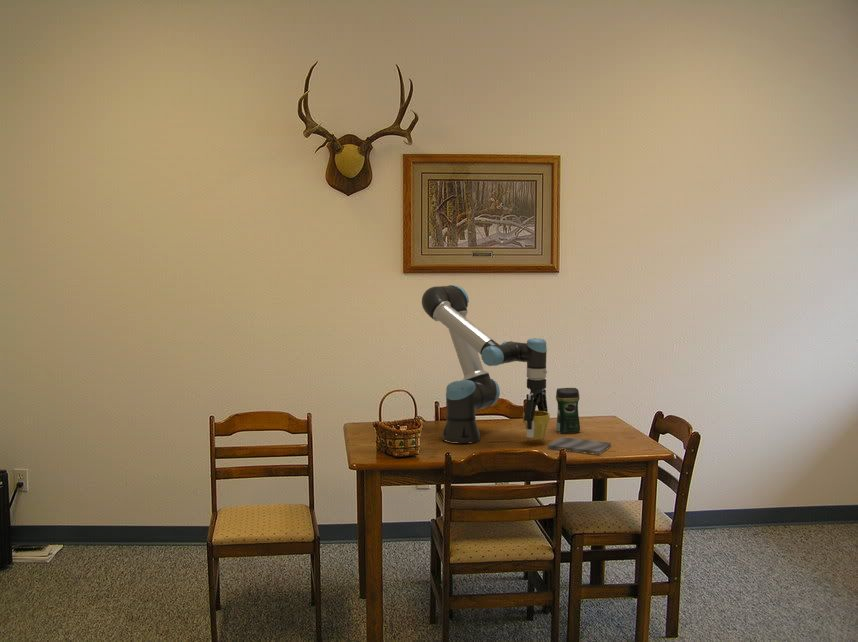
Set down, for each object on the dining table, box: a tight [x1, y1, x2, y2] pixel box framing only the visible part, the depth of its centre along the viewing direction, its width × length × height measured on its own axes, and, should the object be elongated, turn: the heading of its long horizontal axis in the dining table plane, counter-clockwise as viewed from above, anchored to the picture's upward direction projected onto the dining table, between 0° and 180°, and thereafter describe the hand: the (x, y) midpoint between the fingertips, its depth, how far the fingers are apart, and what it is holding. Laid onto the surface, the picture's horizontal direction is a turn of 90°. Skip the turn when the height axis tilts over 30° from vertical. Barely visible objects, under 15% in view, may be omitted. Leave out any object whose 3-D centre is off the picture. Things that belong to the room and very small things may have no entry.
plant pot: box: [522, 409, 550, 440], centre depth 282 cm, size 10×10×10 cm
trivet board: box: [547, 436, 612, 455], centre depth 275 cm, size 20×14×2 cm
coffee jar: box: [555, 387, 581, 434], centre depth 299 cm, size 10×8×19 cm
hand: (535, 434), depth 283 cm, fingers closed on plant pot, 10 cm apart
